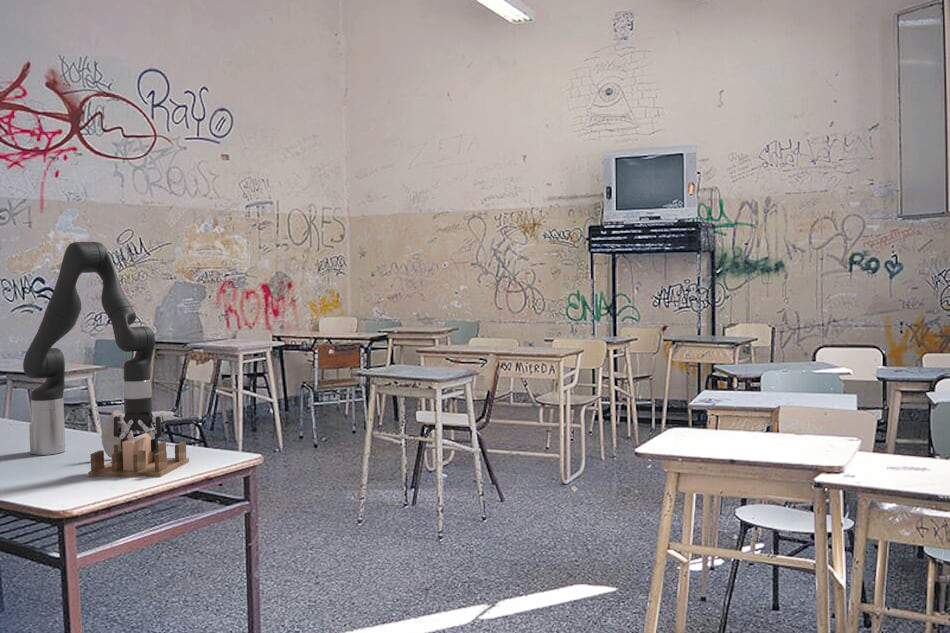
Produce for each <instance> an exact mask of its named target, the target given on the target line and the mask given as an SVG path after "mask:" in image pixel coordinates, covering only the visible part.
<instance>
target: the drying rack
mask: <svg viewBox="0 0 950 633" xmlns="http://www.w3.org/2000/svg"><path fill="white" fill-rule="evenodd" d="M104 453H105V450H104V449H103V450H101V449H100V450H98V451H95V452H92V453H90V470H89V471H88V472H87V477H99V478H100V477H103V478H104V477H105V478H106V477H109V478H110V477H116V478H118V477H121V478H125V477H126V478H127V477H128V478H129V477H130V478H131V477H132V478H133V477H135V478H138V477H137V476H146V477H145V478H161V477H163V476H165V475H167V474H168V473H171V472H172V471H174V470H177V469H178V468H180V467H182V466H184V465H186V464H188V463H189V462H190V457H187V442H186V441H180V442H179V443H176V444H175V445H174V457H167V455H168V454H167V453H168V452H167V442H166V441H160V442H158V449H157V450H156V451H155V454H154V457H155V461H152V462H150V463H148V464H146V451H139V452H137V453H135V454H133V469H134V470H123V450H121V442H120V443H117V444H115V445H114V453H113V454H112V458H111V461H110V462H108V463H105V454H104Z"/></svg>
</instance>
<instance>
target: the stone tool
mask: <svg viewBox="0 0 950 633" xmlns="http://www.w3.org/2000/svg"><path fill="white" fill-rule="evenodd" d="M118 415H121V416H125V414H123V412H122V411H121V410H119V409H115V410H114V411H113V412H112V413H111V414H110V416H109V417H108V418H107V419H106V420H105V422H104V426H103V430H102V432H101V436H100V438H101V445H102V448H103V450H104V453H105V454H106V455H107V457H109V458H111V459H112V454H113V453H114V445H115V444H117V443H120V442H121V440H120V438H119V437H114V435H113V434H114V417H115V416H118ZM126 426H127V424H126V423H125V422H124V421H123V423H122V432H123V430H124V428H125V427H126ZM127 438H128V440H129V439H132V438H134V433H133V431H131V432H130V434H129V435H128V436H127Z"/></svg>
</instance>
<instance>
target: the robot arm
mask: <svg viewBox="0 0 950 633" xmlns="http://www.w3.org/2000/svg"><path fill="white" fill-rule="evenodd" d="M91 273H96V274H97V275H98V276H99V277H100V279H101V281H102V291H101V306H102V308H103V311H104V312H105V314H106V316H107V318H108V319H109V320H110V322H111V326H112V330H113V334H114V335H113V336H114V339H115V343H116V346H117V347H118V348H119V349H120V350H121V351H122V352H125V353H130V352H135V355H134V357H132V358H131V359H128V360H127V361H125V362H124V364H123V380H124V381H123V382H124V383H123V411H124V415H125V416H121V415H118V416H115V417H114V434H113V435H114V437H119V438H120V440H121V450H123V447H122V442H124V441H127V440H128V438H127V436H128V435H129V434H130V432H131V431H132V432H137V431H139V432H144V433H147V434H149V436H150V437H151V438H152V439H151V452H155V451H156V450H157V449H158V443H159V438H161V437H163V436H165V434H166V432H165V421H164V415H161V414H160V415H156V416H155V415H153V391H152V383H151V367H150V366H151V363H152V357H153V353H154V349H155V346H156V345H155V344H156V336H155V333H154V331H153V330H152V328H151V327H149V326H145V325H144V326H131V325H133V324H134V323H135V321H136V320H137V314H136V312H135V310H134V308H133V306H132V305H131V303H130V301H129V300H128V298H127V296H126V295H125V292H124V290H123V288H122V286H121V283H120V280H119V276H118V274H117V271H116V269H115V266H114V263H113V260H112V258H111V256H110V253H109V251H108V249H107V248H106V246H105V245H104V244H103V243H101V242H99V241H74V242H71V243H70V244H69V245H67V248H66V250H65V251H64V255H63V257H62V262H61V264H60V269H59V272H58V277H57V280H56V283H55V286H54V287H53V292H52V295H51V296H50V299H49V301H48V303H47V306H46V308H45V310H44V311H45V312H44V314H43V317H42V320H41V322H40V324H39V328H37V332H36V333H35V336H34V337H33V340H32V341H31V343H30V345H29V347H28V349H27V351H26V353H25V354H24V358H23V362H22V367H23V368H22V370H23V373H24V375H25V376H26V377H28V378H30V379H45V381H44V383H42V384H41V385H40V386H38V387H37V388H35V389H33V390H32V391H31V393H30V399H31V400H30V406H31V423H29V424H28V428H29V432H28V433H29V451H30V452H29V454H31V455H32V454H33V455H36V456H37V455H38V456H42V455H43V456H45V455H49V456H50V455H56V454H60V453H61V454H62V453H64V452H66V437H65V436H66V431H65V428H66V426H65V407H64V406H65V404H64V391H65V385H66V384H65V382H66V381H65V378H66V376H65V373H66V369H65V368H66V367H65V366H66V363H65V362H66V361H65V356H64V353H63V351H62V350H61V349H60V348H58V347H57V348H56V347H53V346H54V345H55V344H56V343H57V342H58V341H60V340H61V339H62V338H63V337H65V336H66V335H68V333H69V332H70V331H71V330H72V329H73V328H74V327H75V325H76V323H77V322H78V319H79V316H80V314H81V311H82V301H81V298H80V295H79V293H78V291H77V287H76V286H77V282H78V279H79V277H80V275H81V274H91ZM123 421H124V422H125V423H126V424H127V426H126V427H125V428H124V430H123V432H122V423H123ZM153 422H154V423H155V426H156V428H155V426H154V425H153V424H152V423H153Z"/></svg>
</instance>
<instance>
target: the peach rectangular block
mask: <svg viewBox="0 0 950 633" xmlns="http://www.w3.org/2000/svg"><path fill="white" fill-rule="evenodd" d="M133 437H134V436H133ZM151 439H152V438H151V437H150V436H149V434H147V433H146V432H144V433H142V434H139V435H138V436H135V437H134V438H132V439H129V440H127V441H124V442H122V447H123V470H134V469H133V454H135V453H137V452H139V451H146V464H148V463H150V462H152V461H155V457H154V454H155V452H151Z"/></svg>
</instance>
